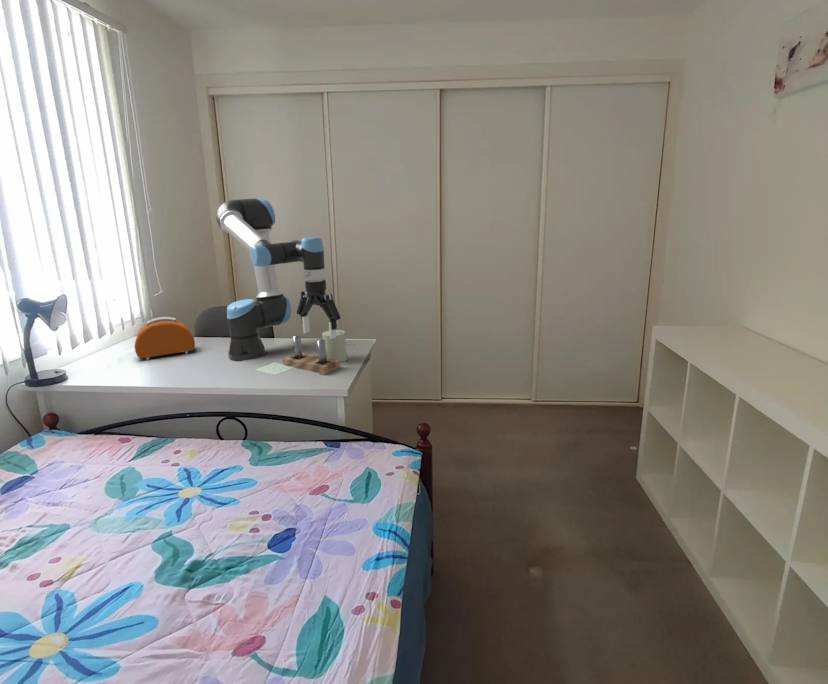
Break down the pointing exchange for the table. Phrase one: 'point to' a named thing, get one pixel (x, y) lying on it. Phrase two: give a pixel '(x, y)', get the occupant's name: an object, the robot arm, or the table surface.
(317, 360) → the socket block
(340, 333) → the can
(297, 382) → the table surface
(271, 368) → the mat
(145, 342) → the alarm clock
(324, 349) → the pin
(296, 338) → the pin
